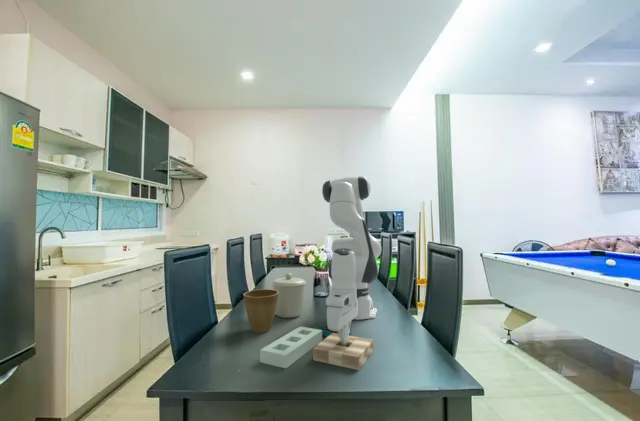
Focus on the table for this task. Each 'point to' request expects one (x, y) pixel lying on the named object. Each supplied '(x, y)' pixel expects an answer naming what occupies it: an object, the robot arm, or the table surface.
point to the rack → (290, 347)
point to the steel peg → (345, 340)
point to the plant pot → (261, 308)
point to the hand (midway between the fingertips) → (344, 336)
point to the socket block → (343, 351)
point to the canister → (289, 296)
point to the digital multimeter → (327, 330)
